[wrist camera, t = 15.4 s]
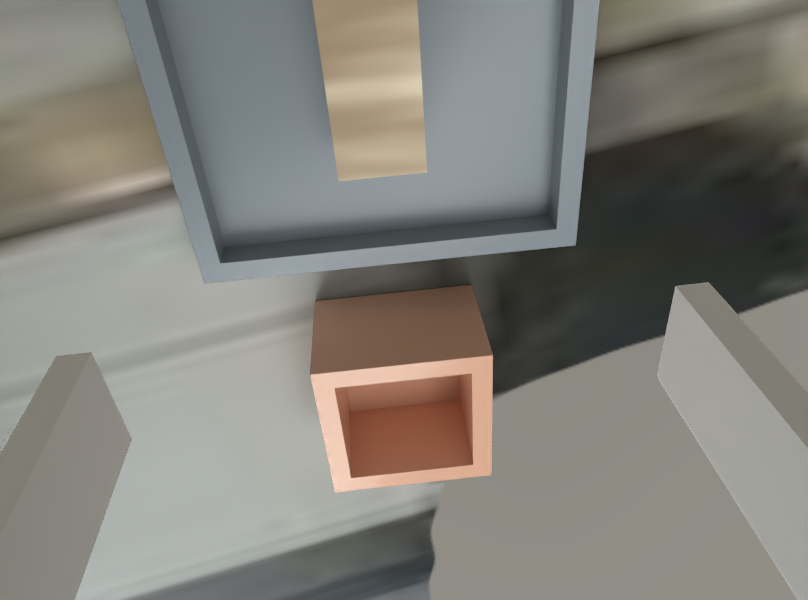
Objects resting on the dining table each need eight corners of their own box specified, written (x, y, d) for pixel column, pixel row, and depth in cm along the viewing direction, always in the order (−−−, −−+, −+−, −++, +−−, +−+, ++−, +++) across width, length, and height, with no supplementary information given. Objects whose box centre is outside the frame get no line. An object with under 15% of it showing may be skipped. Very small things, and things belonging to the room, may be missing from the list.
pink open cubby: (473, 398, 39) (491, 474, 34) (336, 413, 39) (335, 492, 34) (471, 284, 34) (493, 355, 30) (315, 300, 34) (310, 374, 29)
